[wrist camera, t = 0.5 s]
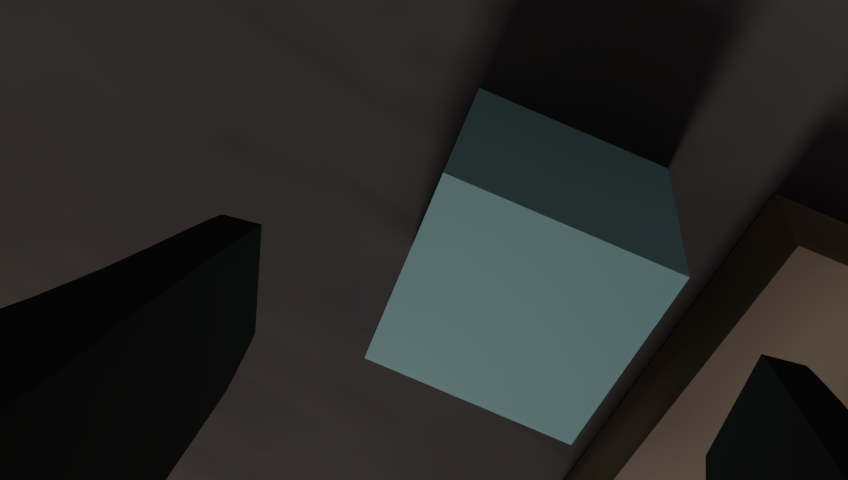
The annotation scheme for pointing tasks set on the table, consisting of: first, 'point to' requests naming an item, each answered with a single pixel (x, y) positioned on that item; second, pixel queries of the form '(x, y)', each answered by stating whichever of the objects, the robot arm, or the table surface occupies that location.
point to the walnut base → (733, 346)
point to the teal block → (534, 270)
